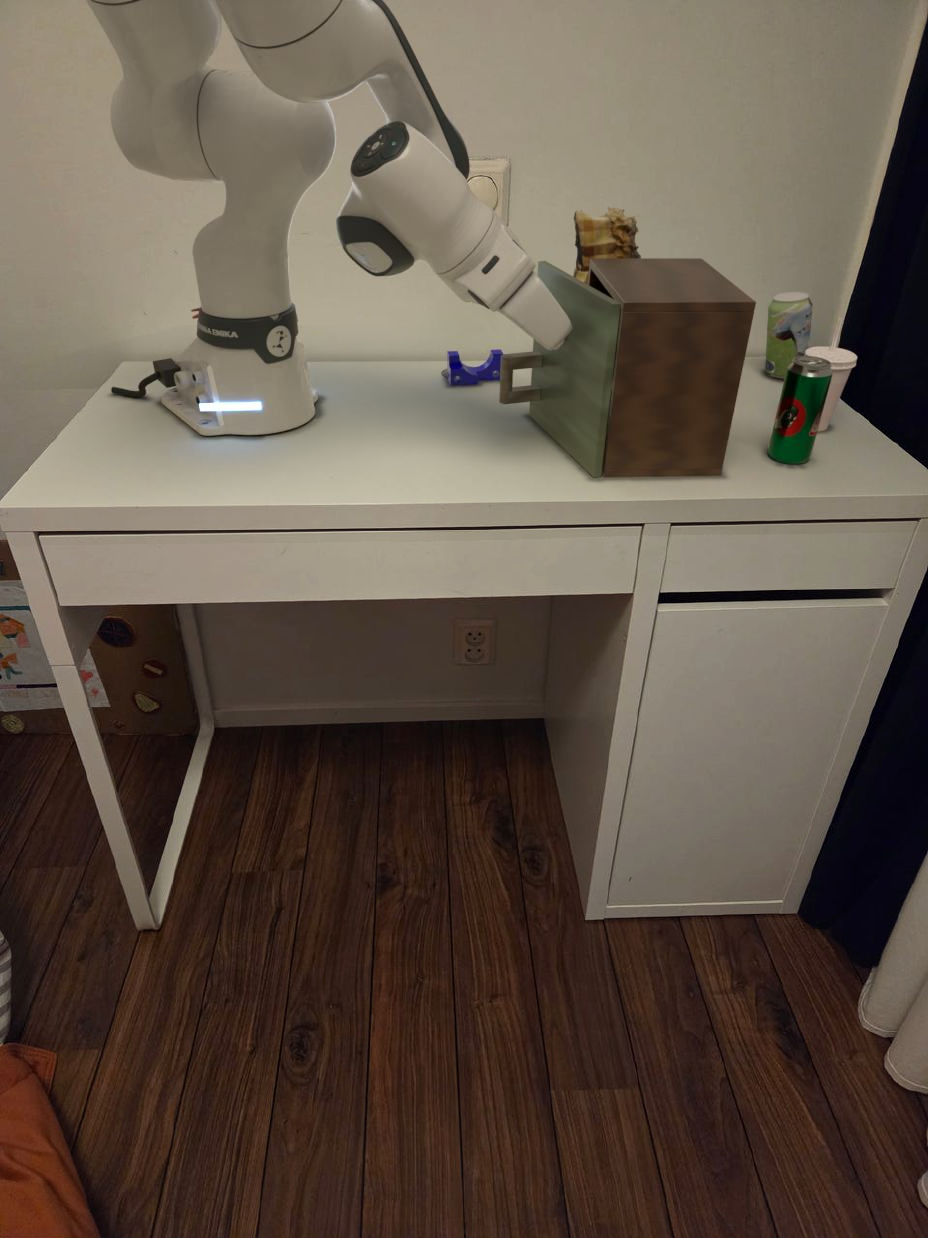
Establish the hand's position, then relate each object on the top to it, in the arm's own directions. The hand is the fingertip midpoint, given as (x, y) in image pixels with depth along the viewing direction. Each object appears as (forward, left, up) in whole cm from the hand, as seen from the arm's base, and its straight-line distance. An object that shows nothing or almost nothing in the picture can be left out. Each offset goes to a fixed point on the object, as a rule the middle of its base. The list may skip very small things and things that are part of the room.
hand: (555, 342), depth 101 cm
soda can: (+25, +16, -13) cm, 32 cm away
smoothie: (+23, +28, -13) cm, 38 cm away
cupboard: (+9, +8, -12) cm, 17 cm away
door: (+1, -2, -12) cm, 13 cm away
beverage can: (+11, +44, -13) cm, 47 cm away
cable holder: (-21, +10, -13) cm, 27 cm away
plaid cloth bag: (-9, +21, -13) cm, 26 cm away
